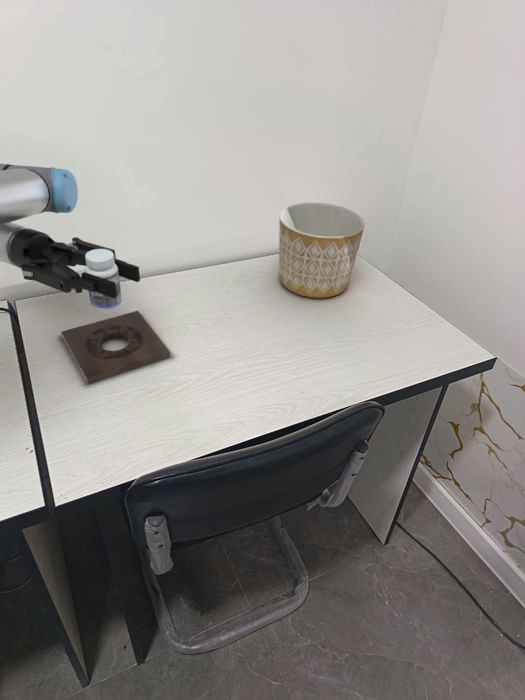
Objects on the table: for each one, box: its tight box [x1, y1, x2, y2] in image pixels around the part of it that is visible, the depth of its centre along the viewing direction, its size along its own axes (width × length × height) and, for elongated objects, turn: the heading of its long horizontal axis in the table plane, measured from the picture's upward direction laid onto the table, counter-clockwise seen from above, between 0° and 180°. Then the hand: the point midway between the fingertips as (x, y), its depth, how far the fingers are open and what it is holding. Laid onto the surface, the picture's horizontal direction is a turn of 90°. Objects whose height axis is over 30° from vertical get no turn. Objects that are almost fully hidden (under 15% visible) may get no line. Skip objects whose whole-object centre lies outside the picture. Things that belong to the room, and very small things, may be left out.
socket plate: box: [60, 310, 171, 385], centre depth 97 cm, size 16×16×2 cm
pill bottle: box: [84, 249, 123, 312], centre depth 86 cm, size 6×6×10 cm
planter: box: [278, 202, 366, 299], centre depth 117 cm, size 19×19×16 cm
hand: (126, 282), depth 84 cm, fingers closed on pill bottle, 5 cm apart
